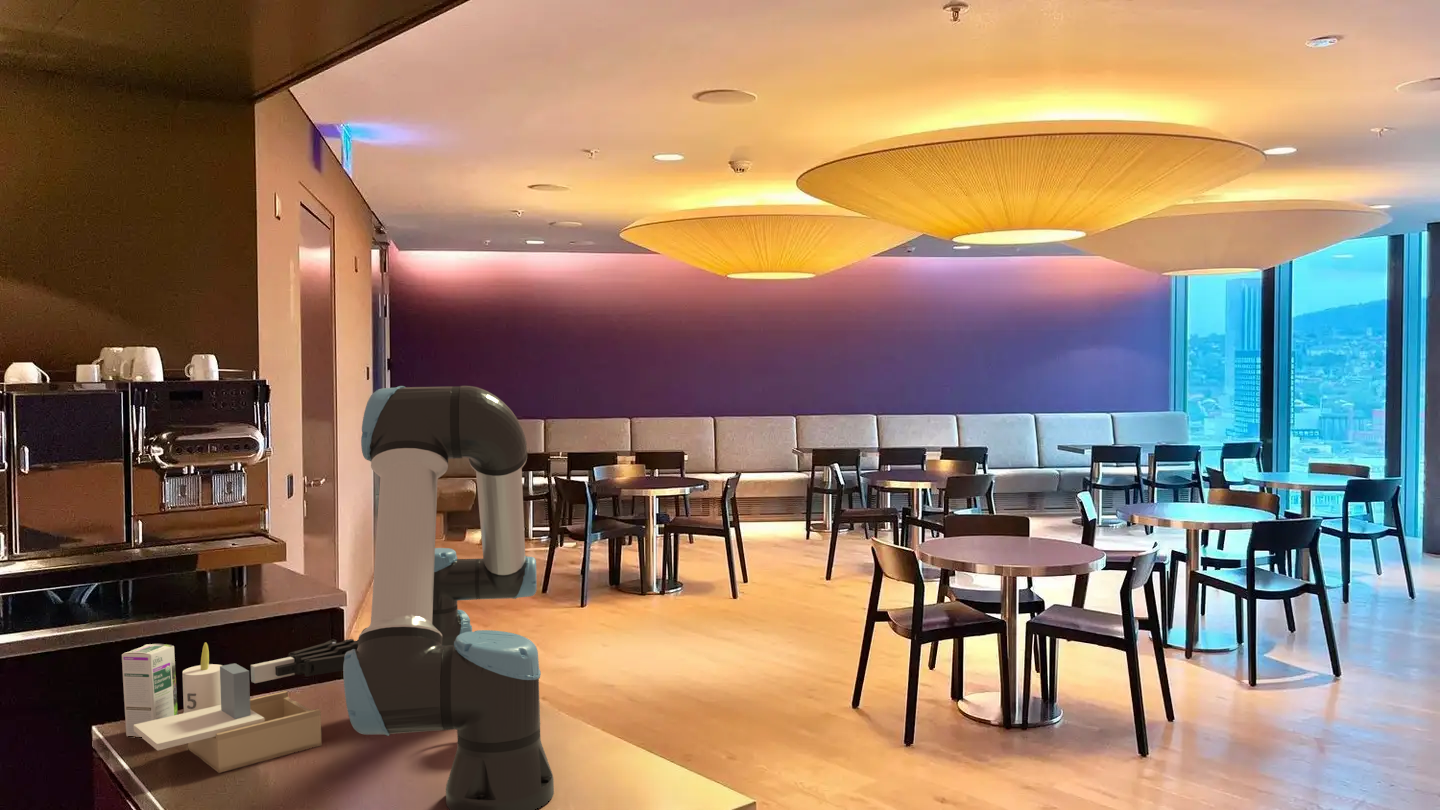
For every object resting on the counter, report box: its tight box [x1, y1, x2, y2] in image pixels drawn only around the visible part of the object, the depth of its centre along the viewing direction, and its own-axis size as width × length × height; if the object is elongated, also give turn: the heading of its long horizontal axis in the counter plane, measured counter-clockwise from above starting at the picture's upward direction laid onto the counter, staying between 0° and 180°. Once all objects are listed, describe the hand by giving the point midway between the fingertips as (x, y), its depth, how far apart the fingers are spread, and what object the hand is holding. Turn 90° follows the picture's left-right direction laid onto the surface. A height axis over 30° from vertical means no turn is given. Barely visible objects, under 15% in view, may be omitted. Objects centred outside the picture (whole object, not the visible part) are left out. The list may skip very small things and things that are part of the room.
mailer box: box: [187, 690, 322, 774], centre depth 172 cm, size 16×14×6 cm
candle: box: [182, 642, 223, 713], centre depth 180 cm, size 6×6×15 cm
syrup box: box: [121, 643, 179, 737], centre depth 179 cm, size 6×6×14 cm
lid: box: [134, 663, 265, 751], centre depth 166 cm, size 16×12×8 cm
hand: (252, 674), depth 171 cm, fingers closed
